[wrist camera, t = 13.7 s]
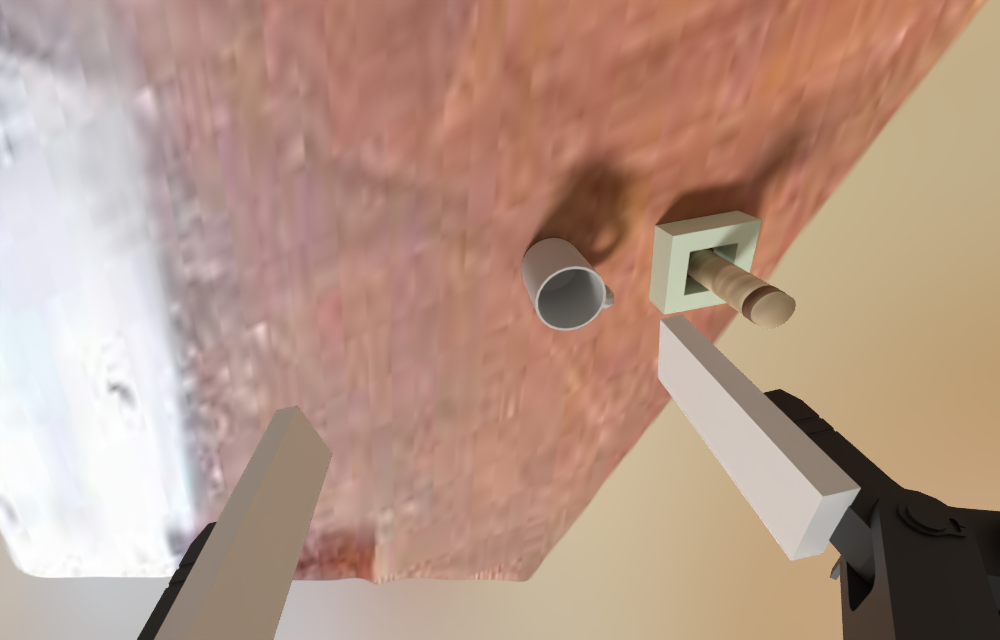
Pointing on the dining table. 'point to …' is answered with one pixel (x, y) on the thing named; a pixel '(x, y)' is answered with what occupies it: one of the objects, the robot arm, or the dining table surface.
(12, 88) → the dining table surface
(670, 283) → the square block with hole
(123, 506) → the dining table surface
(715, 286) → the striped wooden dowel
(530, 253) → the cup
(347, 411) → the dining table surface
